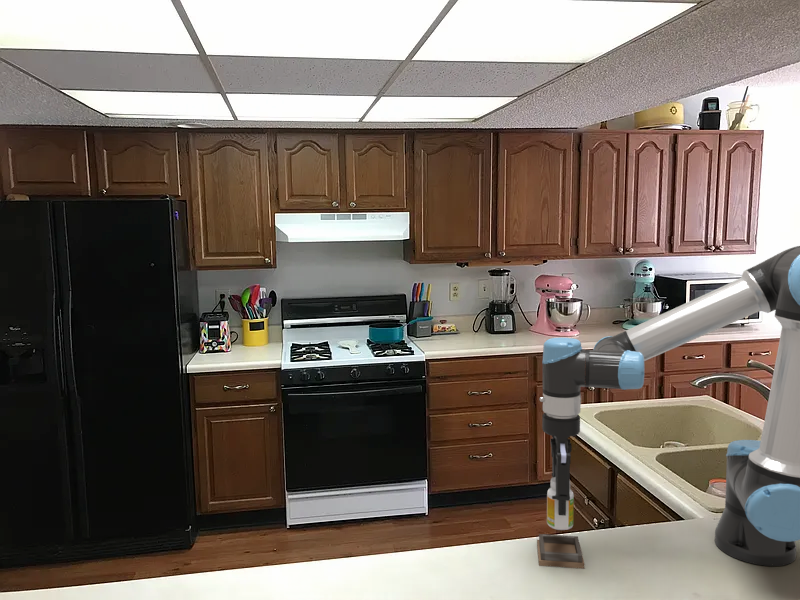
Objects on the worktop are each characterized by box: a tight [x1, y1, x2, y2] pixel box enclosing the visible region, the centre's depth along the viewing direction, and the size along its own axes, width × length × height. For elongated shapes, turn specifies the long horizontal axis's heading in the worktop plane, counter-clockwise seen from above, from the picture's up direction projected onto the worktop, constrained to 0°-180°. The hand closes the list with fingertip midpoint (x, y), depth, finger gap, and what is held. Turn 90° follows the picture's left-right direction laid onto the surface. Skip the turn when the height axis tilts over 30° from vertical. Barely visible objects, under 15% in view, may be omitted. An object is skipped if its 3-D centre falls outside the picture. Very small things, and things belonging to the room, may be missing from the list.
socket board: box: [536, 533, 585, 569], centre depth 133 cm, size 9×9×2 cm
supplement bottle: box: [546, 477, 575, 531], centre depth 132 cm, size 5×5×10 cm
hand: (560, 521), depth 133 cm, fingers closed on supplement bottle, 5 cm apart
